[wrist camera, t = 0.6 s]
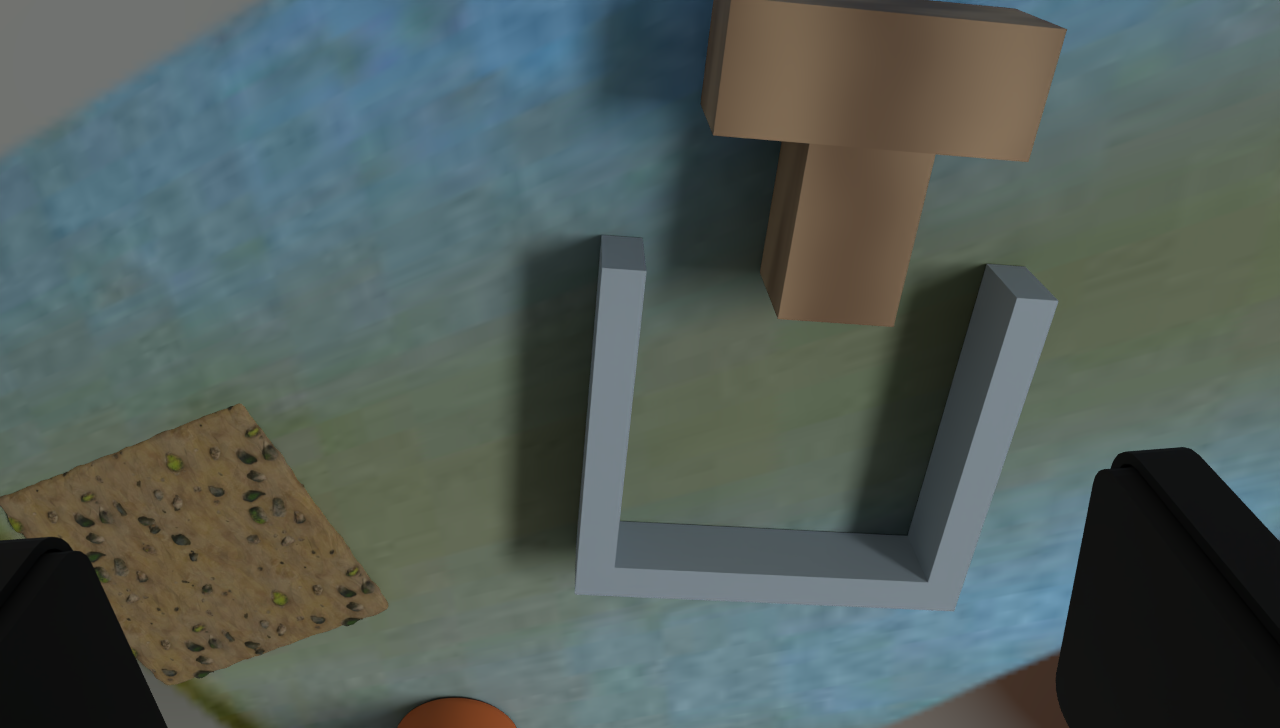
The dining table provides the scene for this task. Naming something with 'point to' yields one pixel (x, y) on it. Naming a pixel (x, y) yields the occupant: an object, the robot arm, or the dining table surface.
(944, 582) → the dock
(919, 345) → the dining table surface
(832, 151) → the t block
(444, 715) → the cup with straw
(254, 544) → the cookie
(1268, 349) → the dining table surface
